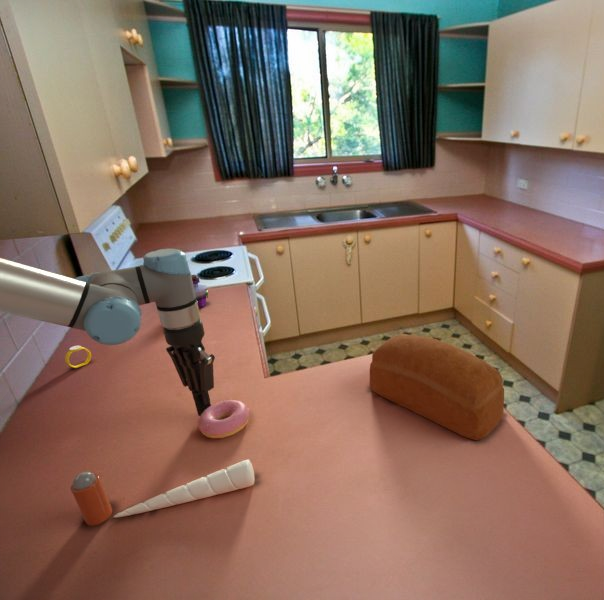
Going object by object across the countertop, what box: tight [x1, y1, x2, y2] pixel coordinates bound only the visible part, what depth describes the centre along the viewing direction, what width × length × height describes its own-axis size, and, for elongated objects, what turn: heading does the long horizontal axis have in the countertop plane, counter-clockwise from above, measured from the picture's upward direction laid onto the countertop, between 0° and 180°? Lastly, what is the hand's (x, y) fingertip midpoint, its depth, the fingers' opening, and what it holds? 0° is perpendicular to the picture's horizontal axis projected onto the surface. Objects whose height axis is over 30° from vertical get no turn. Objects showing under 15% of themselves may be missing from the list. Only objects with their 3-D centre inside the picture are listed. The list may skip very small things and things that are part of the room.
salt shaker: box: [70, 471, 113, 527], centre depth 73 cm, size 4×4×10 cm
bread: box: [369, 333, 505, 441], centre depth 100 cm, size 14×33×16 cm, turn 50°
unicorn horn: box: [113, 459, 256, 518], centre depth 78 cm, size 5×24×5 cm, turn 106°
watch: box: [64, 344, 92, 369], centre depth 121 cm, size 6×3×6 cm, turn 151°
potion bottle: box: [191, 274, 209, 309], centre depth 158 cm, size 9×9×12 cm
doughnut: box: [197, 398, 250, 439], centre depth 96 cm, size 11×11×4 cm
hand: (205, 413), depth 99 cm, fingers closed
